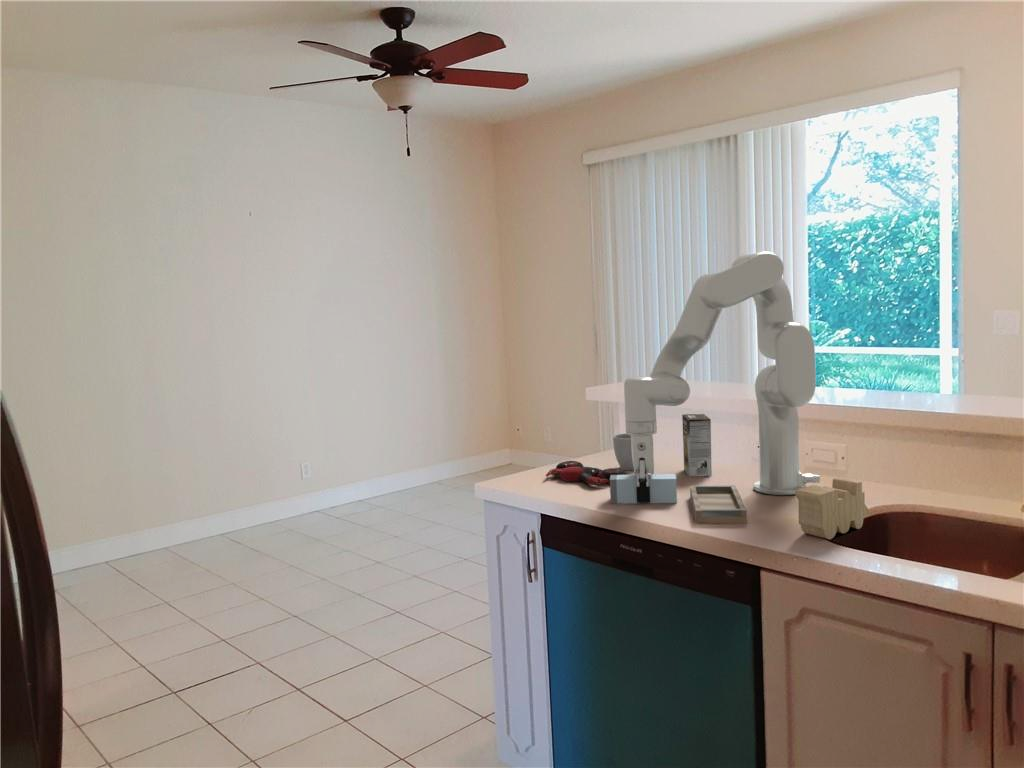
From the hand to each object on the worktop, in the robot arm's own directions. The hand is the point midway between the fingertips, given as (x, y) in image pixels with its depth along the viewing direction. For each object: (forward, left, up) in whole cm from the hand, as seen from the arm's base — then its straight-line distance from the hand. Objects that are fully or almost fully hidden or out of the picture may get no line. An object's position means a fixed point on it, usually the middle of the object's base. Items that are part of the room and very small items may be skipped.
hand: (643, 498), depth 194 cm
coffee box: (-15, -30, -1) cm, 34 cm away
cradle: (-17, +9, -1) cm, 19 cm away
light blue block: (0, 0, -1) cm, 1 cm away
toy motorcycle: (+17, -23, -1) cm, 29 cm away
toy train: (-39, +25, -1) cm, 46 cm away
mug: (+3, -38, -1) cm, 38 cm away
